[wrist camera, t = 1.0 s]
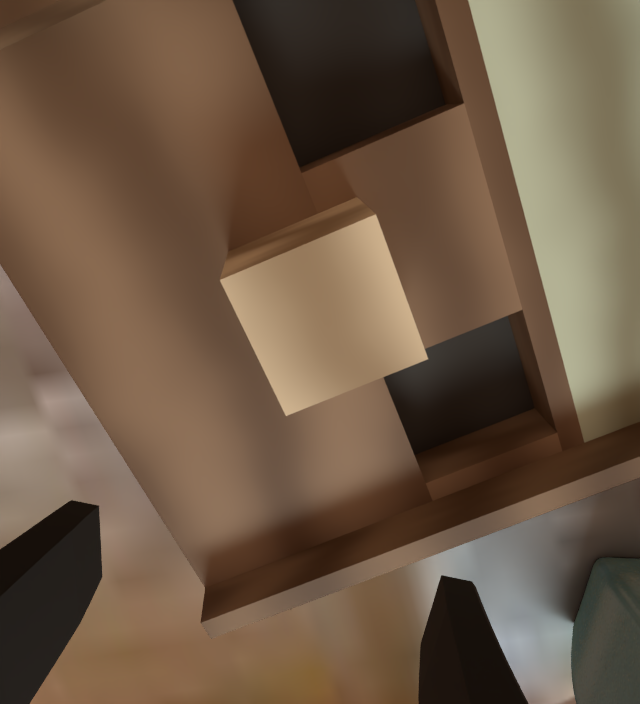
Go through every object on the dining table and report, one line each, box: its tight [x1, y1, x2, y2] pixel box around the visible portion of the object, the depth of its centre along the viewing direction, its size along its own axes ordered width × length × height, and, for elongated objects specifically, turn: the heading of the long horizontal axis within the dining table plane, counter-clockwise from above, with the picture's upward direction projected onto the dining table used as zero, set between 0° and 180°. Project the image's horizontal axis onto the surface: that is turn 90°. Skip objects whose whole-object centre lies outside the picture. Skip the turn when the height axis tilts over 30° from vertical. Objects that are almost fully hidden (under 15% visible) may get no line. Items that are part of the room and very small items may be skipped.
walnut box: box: [0, 0, 640, 639], centre depth 22 cm, size 25×24×4 cm
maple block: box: [220, 197, 428, 416], centre depth 20 cm, size 5×5×4 cm
